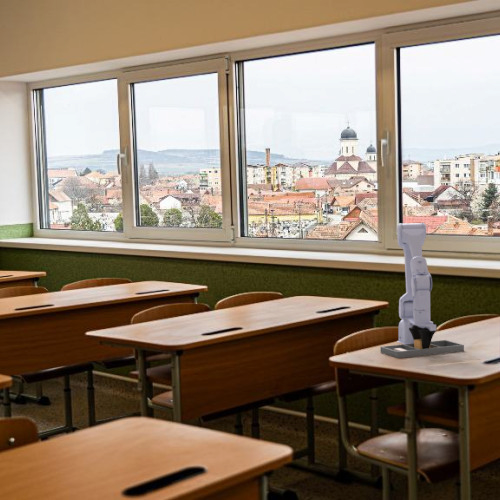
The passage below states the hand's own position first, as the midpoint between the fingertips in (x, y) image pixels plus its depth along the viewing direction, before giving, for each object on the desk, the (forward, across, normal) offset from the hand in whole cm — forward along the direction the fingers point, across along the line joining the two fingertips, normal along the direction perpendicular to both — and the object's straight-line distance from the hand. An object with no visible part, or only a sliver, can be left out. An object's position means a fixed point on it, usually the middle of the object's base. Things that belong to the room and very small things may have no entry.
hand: (422, 348), depth 315 cm
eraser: (+1, 0, +9) cm, 9 cm away
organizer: (+1, 0, 0) cm, 1 cm away
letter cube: (+1, 0, 0) cm, 1 cm away
